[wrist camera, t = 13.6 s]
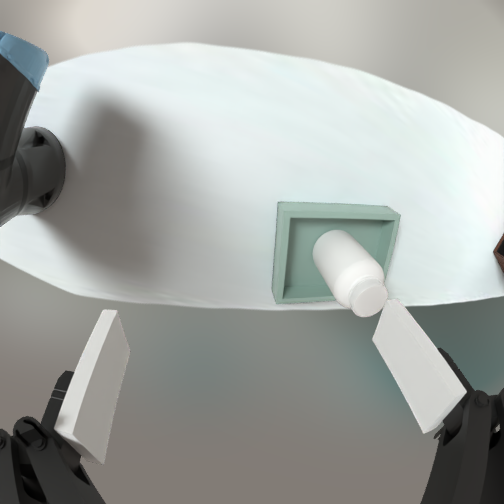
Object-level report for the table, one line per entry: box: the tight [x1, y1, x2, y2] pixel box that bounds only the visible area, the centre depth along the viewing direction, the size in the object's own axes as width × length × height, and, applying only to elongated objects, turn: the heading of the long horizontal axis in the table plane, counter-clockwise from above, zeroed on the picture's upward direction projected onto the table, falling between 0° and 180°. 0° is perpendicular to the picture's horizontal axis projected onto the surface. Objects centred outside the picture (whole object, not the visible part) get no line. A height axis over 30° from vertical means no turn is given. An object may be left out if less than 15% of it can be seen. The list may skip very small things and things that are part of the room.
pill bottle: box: [312, 230, 388, 317], centre depth 40 cm, size 8×8×15 cm
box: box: [272, 202, 401, 304], centre depth 46 cm, size 20×16×4 cm
